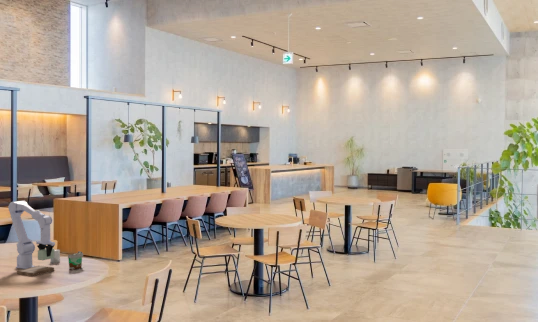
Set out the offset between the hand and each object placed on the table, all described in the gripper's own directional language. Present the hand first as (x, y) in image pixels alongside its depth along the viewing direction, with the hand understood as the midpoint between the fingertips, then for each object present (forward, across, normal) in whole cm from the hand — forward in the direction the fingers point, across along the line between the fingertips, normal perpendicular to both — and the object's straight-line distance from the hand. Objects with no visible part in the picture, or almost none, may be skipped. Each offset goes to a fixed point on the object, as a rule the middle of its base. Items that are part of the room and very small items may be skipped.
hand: (45, 255), depth 339 cm
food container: (+9, -16, -11) cm, 22 cm away
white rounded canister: (+9, +13, -19) cm, 25 cm away
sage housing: (+2, 0, 0) cm, 2 cm away
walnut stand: (+9, 0, +8) cm, 12 cm away
